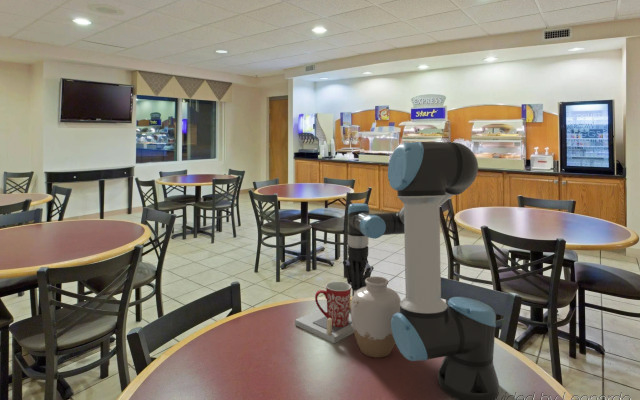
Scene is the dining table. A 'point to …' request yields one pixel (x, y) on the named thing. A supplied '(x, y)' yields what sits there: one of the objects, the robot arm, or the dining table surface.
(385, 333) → the white ceramic vase
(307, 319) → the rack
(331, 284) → the mug
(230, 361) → the dining table surface
